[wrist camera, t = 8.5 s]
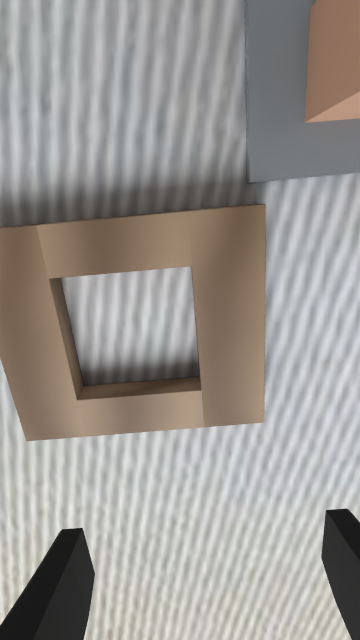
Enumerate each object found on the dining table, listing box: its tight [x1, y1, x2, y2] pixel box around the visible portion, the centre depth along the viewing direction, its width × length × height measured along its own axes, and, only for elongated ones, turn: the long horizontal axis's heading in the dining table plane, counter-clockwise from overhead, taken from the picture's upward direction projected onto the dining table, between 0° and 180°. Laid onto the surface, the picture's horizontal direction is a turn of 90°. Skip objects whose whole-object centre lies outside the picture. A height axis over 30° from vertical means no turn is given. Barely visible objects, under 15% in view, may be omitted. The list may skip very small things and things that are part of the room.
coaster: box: [245, 0, 360, 183], centre depth 14 cm, size 9×9×1 cm
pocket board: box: [0, 204, 265, 441], centre depth 18 cm, size 14×12×2 cm
